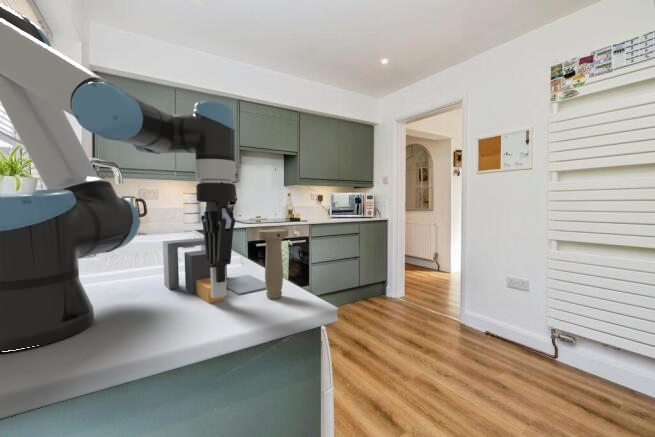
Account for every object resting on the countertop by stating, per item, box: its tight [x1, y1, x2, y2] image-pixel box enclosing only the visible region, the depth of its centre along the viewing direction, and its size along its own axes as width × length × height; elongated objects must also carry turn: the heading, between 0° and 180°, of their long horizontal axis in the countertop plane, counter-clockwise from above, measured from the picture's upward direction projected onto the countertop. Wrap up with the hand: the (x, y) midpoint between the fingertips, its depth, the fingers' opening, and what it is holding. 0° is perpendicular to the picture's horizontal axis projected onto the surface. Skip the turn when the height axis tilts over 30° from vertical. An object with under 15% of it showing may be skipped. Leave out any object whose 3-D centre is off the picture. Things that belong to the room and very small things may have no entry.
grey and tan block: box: [183, 250, 224, 304], centre depth 70 cm, size 15×5×9 cm, turn 40°
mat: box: [226, 274, 266, 296], centre depth 77 cm, size 9×14×1 cm, turn 40°
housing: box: [162, 237, 228, 291], centre depth 79 cm, size 14×5×11 cm, turn 130°
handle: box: [258, 228, 289, 300], centre depth 67 cm, size 5×6×15 cm
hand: (218, 296), depth 63 cm, fingers closed
